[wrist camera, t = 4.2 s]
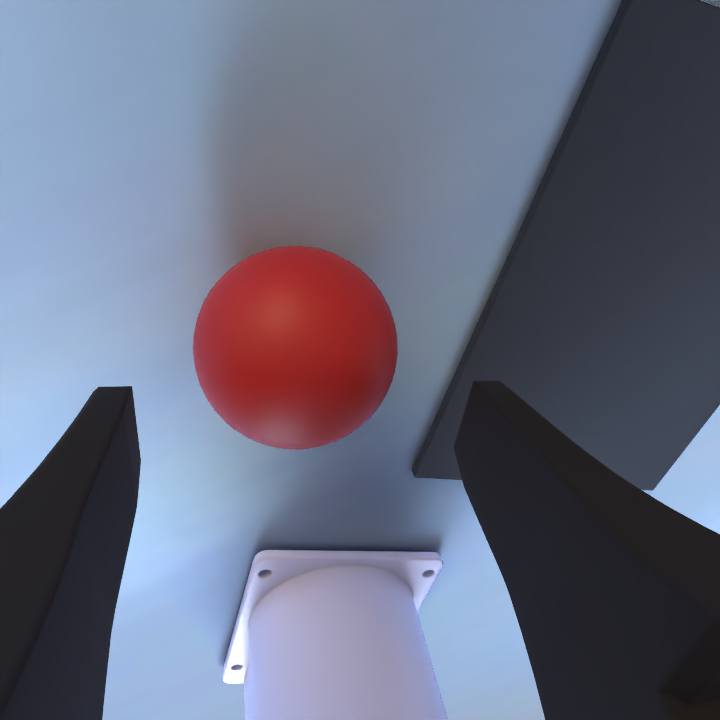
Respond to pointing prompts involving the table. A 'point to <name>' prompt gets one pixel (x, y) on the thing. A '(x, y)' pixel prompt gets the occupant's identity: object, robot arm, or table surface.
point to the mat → (616, 260)
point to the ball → (295, 347)
